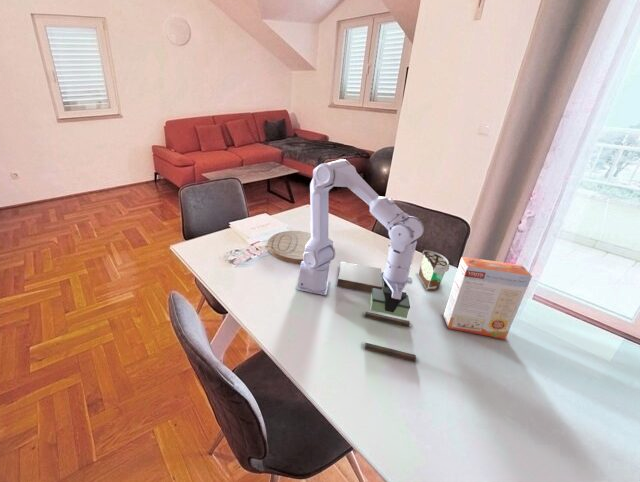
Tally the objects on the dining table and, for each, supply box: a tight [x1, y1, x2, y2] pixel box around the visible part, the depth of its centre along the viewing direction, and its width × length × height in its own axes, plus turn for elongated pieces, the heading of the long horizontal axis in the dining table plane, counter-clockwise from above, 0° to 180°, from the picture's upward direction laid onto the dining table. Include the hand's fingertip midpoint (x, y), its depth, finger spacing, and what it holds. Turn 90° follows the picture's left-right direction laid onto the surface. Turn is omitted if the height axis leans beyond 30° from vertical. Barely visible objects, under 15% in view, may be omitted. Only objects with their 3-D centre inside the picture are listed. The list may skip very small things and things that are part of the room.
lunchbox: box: [370, 288, 411, 319], centre depth 86 cm, size 9×5×4 cm, turn 69°
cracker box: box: [443, 256, 533, 340], centre depth 86 cm, size 14×6×21 cm, turn 71°
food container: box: [417, 249, 450, 291], centre depth 107 cm, size 12×6×10 cm, turn 168°
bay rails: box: [364, 311, 417, 362], centre depth 87 cm, size 12×14×1 cm
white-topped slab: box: [337, 260, 384, 294], centre depth 110 cm, size 14×12×3 cm
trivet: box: [267, 230, 311, 265], centre depth 132 cm, size 25×25×2 cm
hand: (388, 304), depth 86 cm, fingers closed on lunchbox, 5 cm apart
